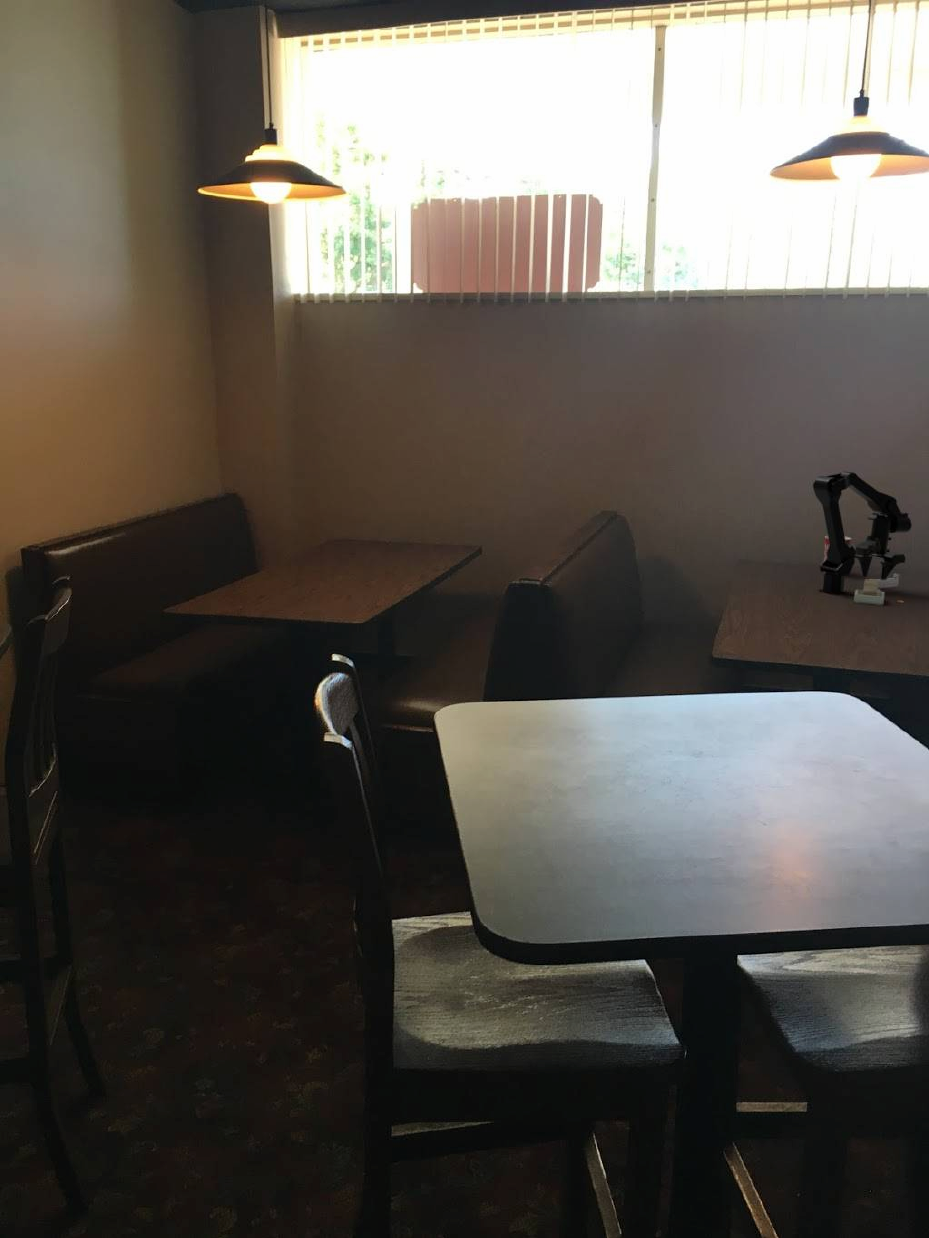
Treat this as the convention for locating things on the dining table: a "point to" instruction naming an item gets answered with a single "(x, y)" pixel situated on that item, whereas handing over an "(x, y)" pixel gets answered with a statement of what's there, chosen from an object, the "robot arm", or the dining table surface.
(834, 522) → the robot arm
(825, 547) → the mug
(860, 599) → the stop tray
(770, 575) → the dining table surface
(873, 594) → the stop block
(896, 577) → the crank
